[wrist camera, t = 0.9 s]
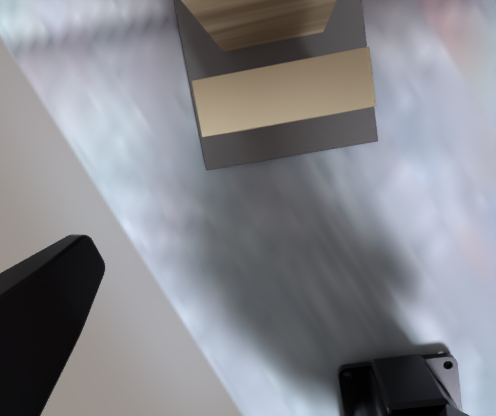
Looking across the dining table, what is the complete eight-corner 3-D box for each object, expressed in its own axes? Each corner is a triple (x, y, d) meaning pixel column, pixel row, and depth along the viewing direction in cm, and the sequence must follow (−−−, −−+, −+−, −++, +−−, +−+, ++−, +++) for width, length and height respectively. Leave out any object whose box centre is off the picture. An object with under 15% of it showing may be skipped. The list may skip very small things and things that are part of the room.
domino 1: (334, 114, 22) (375, 106, 12) (237, 131, 22) (202, 136, 12) (329, 82, 21) (369, 46, 12) (232, 100, 22) (191, 81, 12)
